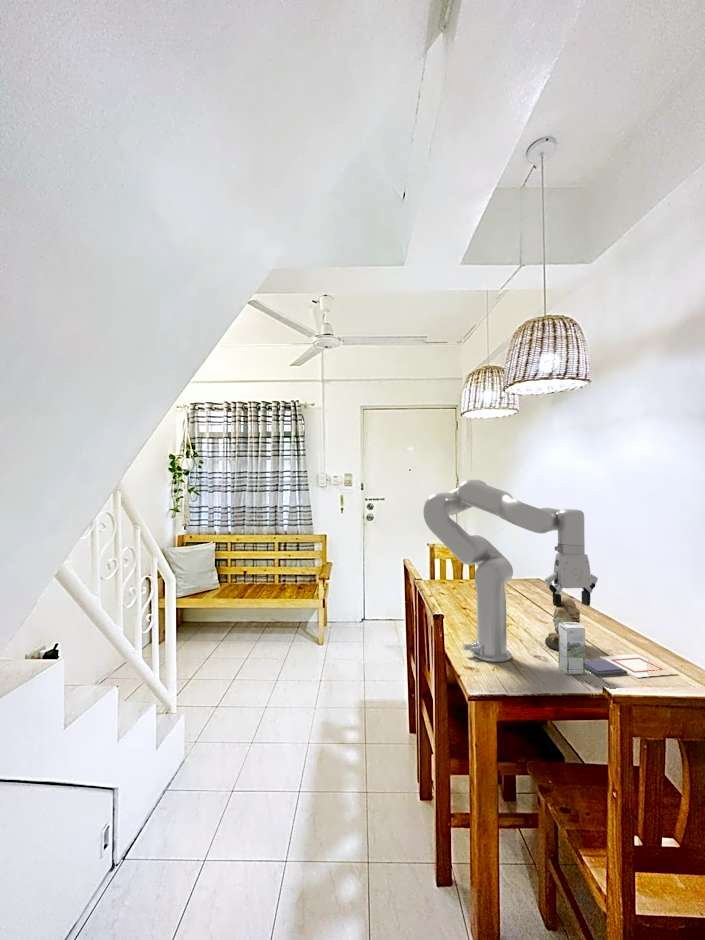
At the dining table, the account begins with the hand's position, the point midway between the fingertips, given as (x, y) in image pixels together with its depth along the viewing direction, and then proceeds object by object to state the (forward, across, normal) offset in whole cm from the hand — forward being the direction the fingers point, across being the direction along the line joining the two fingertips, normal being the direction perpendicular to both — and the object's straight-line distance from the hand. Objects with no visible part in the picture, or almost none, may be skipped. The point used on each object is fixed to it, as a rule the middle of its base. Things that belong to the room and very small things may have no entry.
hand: (571, 605), depth 152 cm
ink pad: (+20, +10, 0) cm, 22 cm away
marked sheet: (+20, +23, 0) cm, 31 cm away
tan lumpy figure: (+20, +12, +23) cm, 33 cm away
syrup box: (+20, 0, 0) cm, 20 cm away
